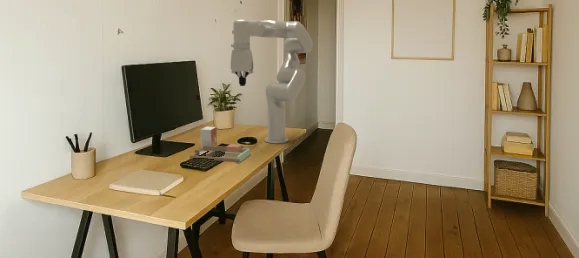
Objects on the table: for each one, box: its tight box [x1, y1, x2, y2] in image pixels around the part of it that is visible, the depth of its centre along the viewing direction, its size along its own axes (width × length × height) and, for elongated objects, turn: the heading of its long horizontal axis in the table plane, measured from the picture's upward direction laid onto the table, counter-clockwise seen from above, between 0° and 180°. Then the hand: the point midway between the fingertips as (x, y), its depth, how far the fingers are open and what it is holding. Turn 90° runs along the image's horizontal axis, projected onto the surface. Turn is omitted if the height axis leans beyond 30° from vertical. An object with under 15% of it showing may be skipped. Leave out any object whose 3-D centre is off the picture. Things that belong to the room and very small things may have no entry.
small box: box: [200, 126, 218, 150], centre depth 214 cm, size 8×6×10 cm
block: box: [225, 143, 243, 153], centre depth 199 cm, size 6×6×5 cm
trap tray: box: [188, 145, 251, 164], centre depth 199 cm, size 15×24×3 cm, turn 76°
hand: (242, 85), depth 205 cm, fingers closed
